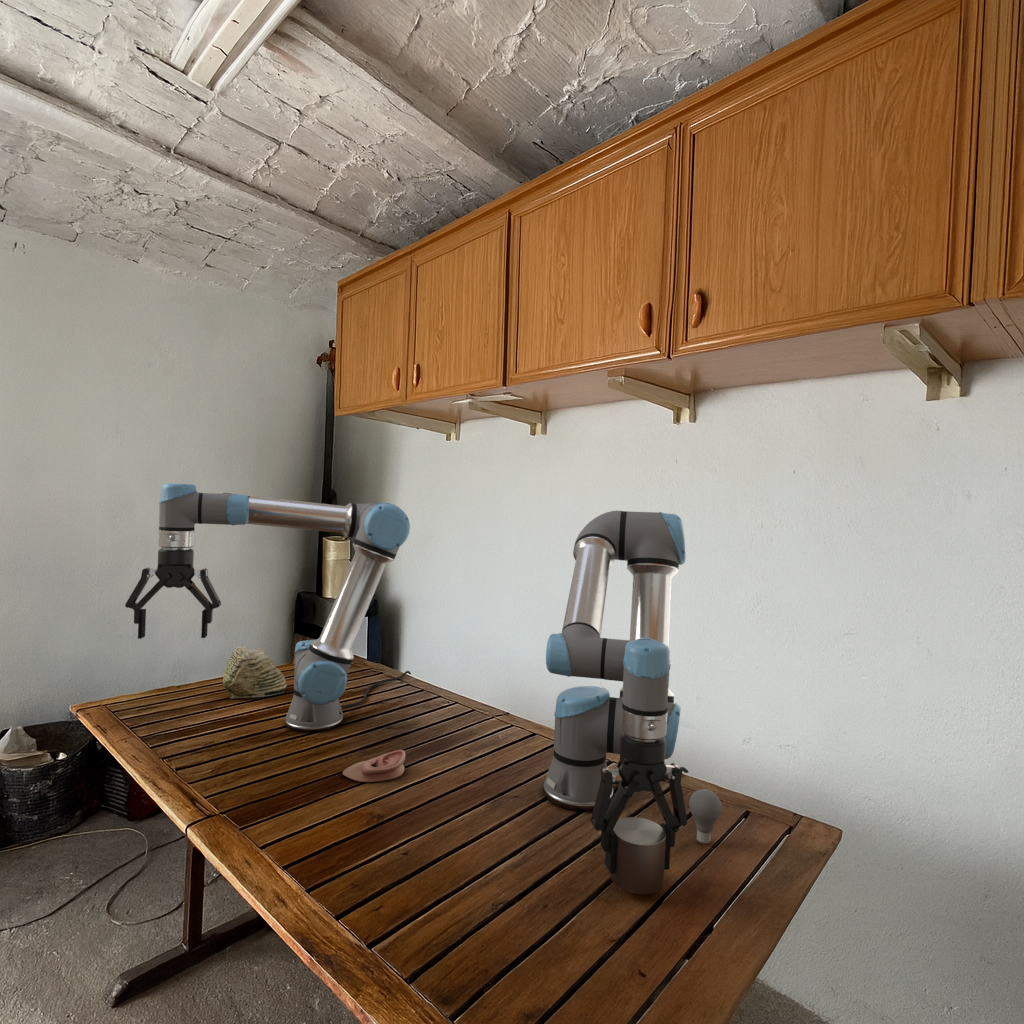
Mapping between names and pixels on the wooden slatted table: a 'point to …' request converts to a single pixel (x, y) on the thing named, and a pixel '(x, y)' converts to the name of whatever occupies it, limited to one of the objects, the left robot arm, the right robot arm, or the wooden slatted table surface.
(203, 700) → the wooden slatted table surface
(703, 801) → the light bulb
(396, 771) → the anatomical model
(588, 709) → the right robot arm
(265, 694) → the fossil
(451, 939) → the wooden slatted table surface
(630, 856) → the can
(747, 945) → the wooden slatted table surface
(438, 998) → the wooden slatted table surface
